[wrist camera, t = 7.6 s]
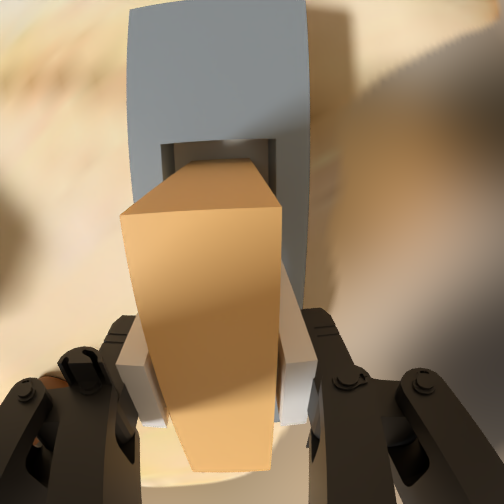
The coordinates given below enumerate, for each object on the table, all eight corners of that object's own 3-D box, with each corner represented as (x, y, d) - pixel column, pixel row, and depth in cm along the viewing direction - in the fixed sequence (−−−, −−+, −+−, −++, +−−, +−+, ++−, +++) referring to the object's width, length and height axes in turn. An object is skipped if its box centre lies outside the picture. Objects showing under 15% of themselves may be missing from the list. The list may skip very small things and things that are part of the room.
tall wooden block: (191, 160, 15) (119, 215, 5) (249, 157, 15) (282, 207, 5) (206, 322, 19) (193, 471, 9) (252, 320, 19) (270, 470, 9)
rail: (150, 32, 13) (129, 9, 9) (289, 26, 13) (305, 0, 10) (187, 387, 23) (183, 424, 19) (283, 383, 23) (290, 420, 20)
